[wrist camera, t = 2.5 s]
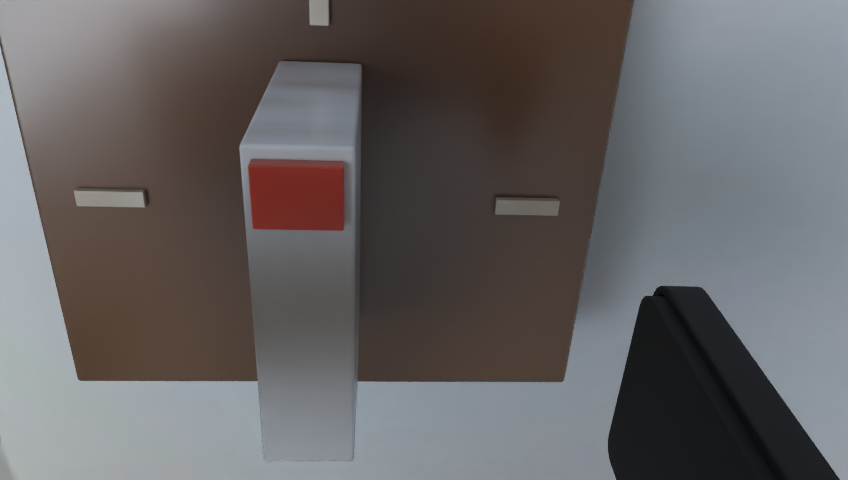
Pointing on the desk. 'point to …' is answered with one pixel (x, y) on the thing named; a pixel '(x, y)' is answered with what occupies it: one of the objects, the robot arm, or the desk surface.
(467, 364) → the tap console
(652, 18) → the desk surface
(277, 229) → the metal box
